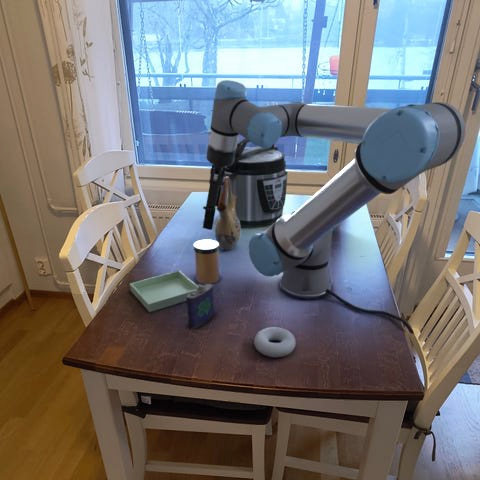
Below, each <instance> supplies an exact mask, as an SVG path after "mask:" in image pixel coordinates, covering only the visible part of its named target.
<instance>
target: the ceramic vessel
mask: <svg viewBox="0 0 480 480" xmlns="http://www.w3.org/2000/svg"><path fill="white" fill-rule="evenodd" d="M227 183H228V191H227V206H226V186H227ZM236 199H237V196H236V195H233V193H232V188H231V181H230V178H229V177H225V179H224V186H223V190H222V194H221V197H220V200H219V204H218V207H217V206H216V210H217V212H218V214H219V216H218V217H217V219H216V221H215V225H214V238H215V241H217V242H218V243H219V248H221V249H222V250H224V251H231V250H233V249H234V248H235V247H236V246H237V245H238V243H239V241H240V238H241V234H242V226H241V225H240V221H239V219H238V217H237V215H236V212H235V203H236Z"/></svg>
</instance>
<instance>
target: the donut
mask: <svg viewBox="0 0 480 480" xmlns="http://www.w3.org/2000/svg"><path fill="white" fill-rule="evenodd" d="M253 340H254V341H253V344H254V348H255V349H256V350H257V352H258V353H260V354H262V355H264V356H265V357H269V358H283V357H286V356H287V355H290V354H291V353H292V352H293V351H294V349H295V347H296V338H295V336H294V334H293V333H292V332H290V331H289V330H287V329H285V328H282V327H279V326H278V327H277V326H271V327H266V328H263V329H261V330H259V331H258V332H257V333H256V334H255V336H254V339H253ZM273 341H275V342H273Z"/></svg>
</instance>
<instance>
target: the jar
mask: <svg viewBox="0 0 480 480" xmlns="http://www.w3.org/2000/svg"><path fill="white" fill-rule="evenodd" d="M192 245H193V251H194V262H195V263H194V265H195V266H194V267H195V280H196V282H197V283H198V284H201V285H206V284H211V285H213V284H216V283H217V282H218V281H219V280H220V263H219V262H220V255H219V254H220V253H219V250H220V246H219V243H218V242H217V241H216V240H214V239H200V240H197V241H195V242H194V243H193V244H192Z"/></svg>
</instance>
